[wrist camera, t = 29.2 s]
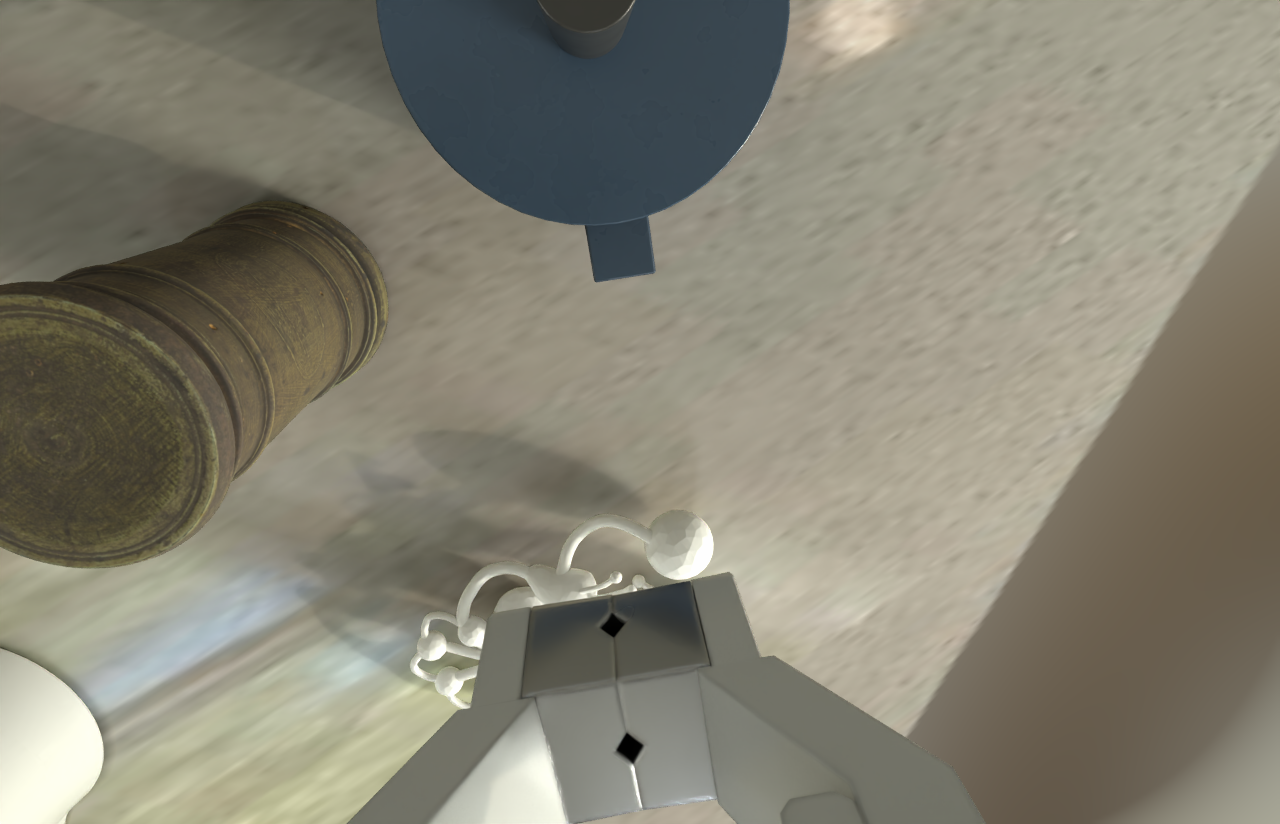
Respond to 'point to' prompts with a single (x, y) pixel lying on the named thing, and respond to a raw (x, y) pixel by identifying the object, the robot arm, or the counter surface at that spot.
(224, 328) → the container
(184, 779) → the counter surface
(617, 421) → the counter surface
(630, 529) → the tangled rod sculpture
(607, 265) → the pot
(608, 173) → the lid
